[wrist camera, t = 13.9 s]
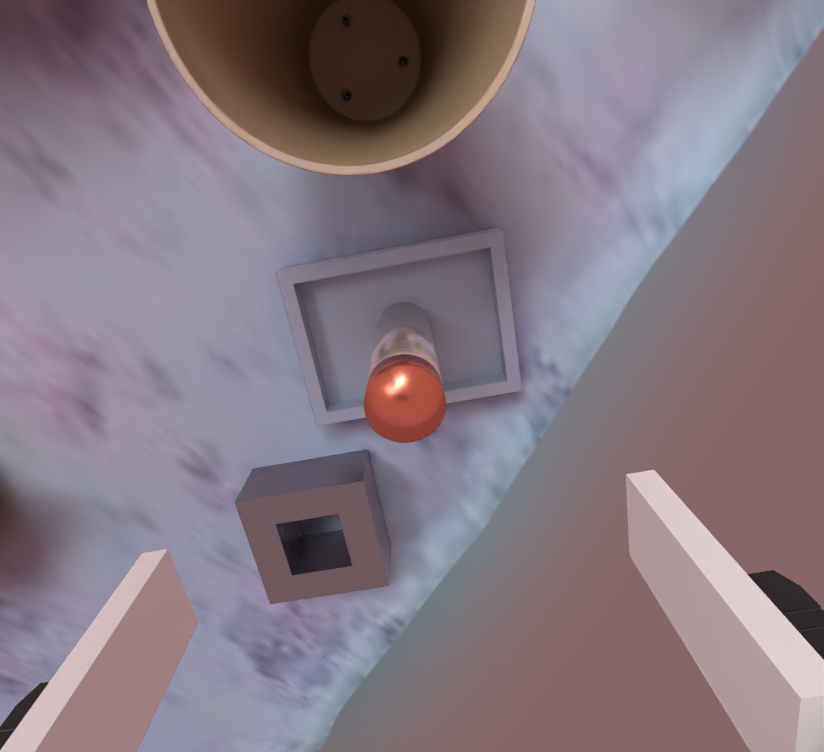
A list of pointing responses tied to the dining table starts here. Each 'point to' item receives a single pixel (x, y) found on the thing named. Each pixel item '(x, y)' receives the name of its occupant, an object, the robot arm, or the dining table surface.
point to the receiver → (321, 553)
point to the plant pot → (344, 72)
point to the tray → (413, 283)
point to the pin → (404, 377)
